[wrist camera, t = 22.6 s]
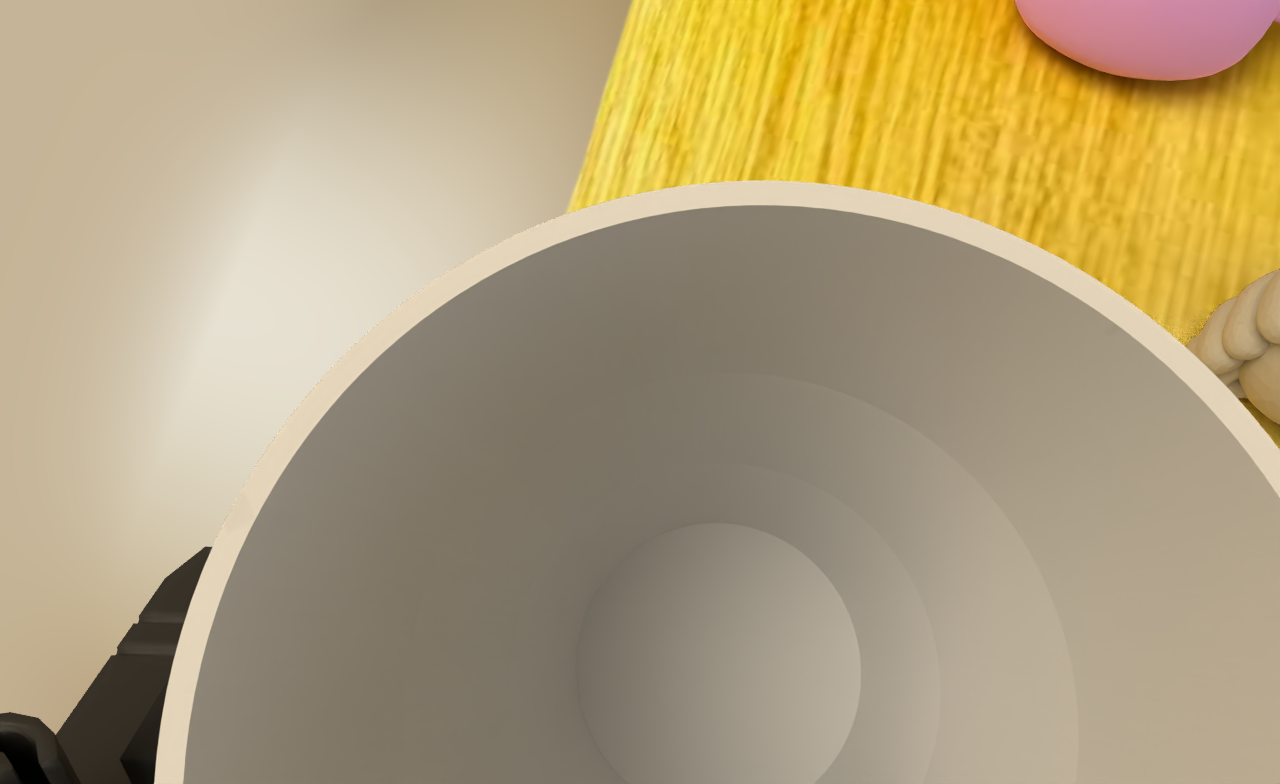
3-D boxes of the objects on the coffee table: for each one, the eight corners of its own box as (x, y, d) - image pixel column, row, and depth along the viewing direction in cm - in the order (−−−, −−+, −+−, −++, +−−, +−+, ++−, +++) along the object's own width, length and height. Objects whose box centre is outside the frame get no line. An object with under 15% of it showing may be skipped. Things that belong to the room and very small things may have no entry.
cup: (1007, 889, 15) (1646, 1438, 5) (505, 965, 15) (166, 1649, 5) (899, 399, 17) (1206, 100, 7) (455, 468, 17) (136, 269, 7)
